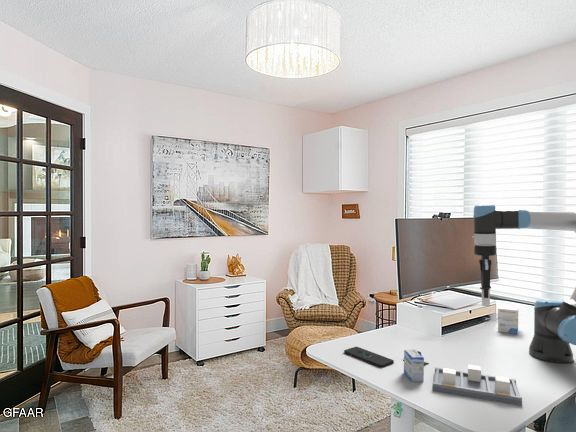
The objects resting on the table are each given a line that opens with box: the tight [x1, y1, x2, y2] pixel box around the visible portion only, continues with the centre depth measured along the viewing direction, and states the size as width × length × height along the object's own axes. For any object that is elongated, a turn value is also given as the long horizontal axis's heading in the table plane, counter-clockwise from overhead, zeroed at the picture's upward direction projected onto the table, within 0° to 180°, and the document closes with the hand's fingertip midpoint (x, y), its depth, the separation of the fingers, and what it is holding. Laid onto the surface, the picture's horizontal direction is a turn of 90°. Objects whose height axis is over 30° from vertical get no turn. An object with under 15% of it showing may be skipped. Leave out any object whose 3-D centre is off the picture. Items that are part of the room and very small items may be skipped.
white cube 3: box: [442, 367, 457, 386], centre depth 135 cm, size 4×4×4 cm
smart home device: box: [343, 346, 395, 369], centre depth 161 cm, size 8×2×20 cm
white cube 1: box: [494, 375, 510, 394], centre depth 129 cm, size 4×4×4 cm
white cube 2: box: [467, 364, 482, 382], centre depth 138 cm, size 4×4×4 cm
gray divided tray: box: [432, 366, 523, 406], centre depth 135 cm, size 26×15×2 cm, turn 67°
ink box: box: [497, 304, 519, 335], centre depth 197 cm, size 9×8×12 cm
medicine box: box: [403, 349, 425, 382], centre depth 143 cm, size 8×4×9 cm, turn 5°
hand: (485, 305), depth 153 cm, fingers closed
